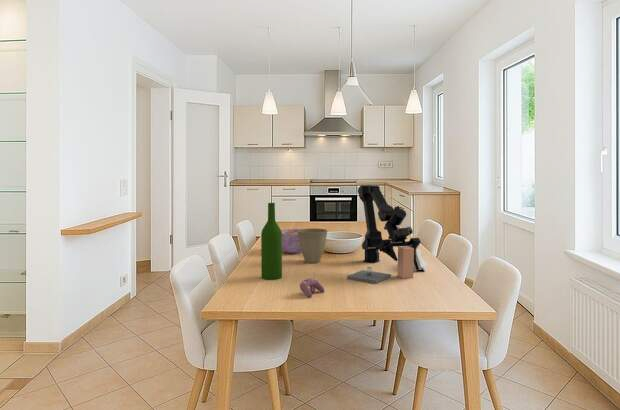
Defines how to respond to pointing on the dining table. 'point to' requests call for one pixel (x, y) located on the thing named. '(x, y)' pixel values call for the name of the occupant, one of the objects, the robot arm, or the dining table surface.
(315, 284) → the video game controller
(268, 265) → the wine bottle
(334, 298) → the dining table surface
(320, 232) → the plant pot
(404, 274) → the terracotta sleeve
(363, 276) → the charcoal plate
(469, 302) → the dining table surface
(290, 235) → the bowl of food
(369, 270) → the metal stub
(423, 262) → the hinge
